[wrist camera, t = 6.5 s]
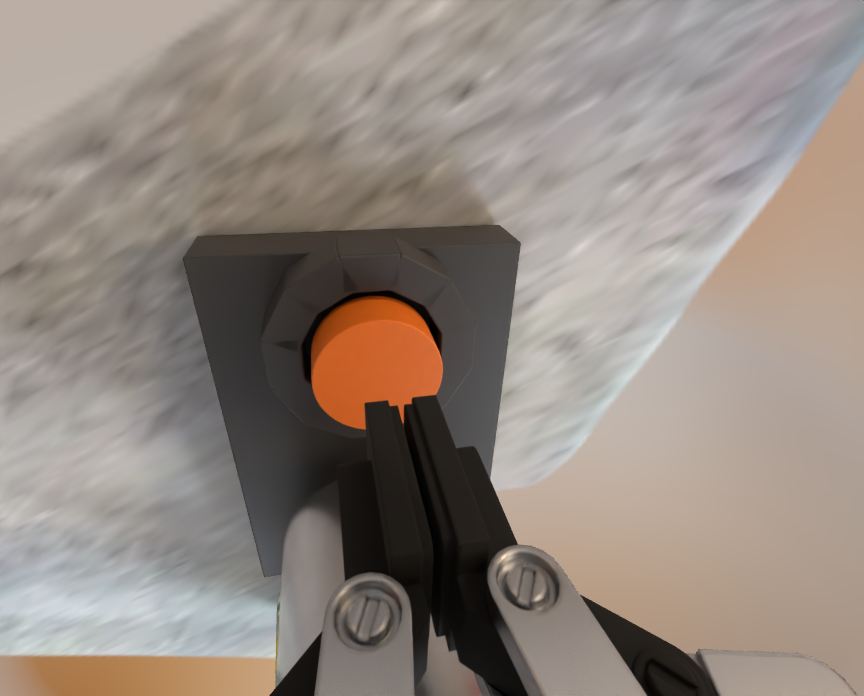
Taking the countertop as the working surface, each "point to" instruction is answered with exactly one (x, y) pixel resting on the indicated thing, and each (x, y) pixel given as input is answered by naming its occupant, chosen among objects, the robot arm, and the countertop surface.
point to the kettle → (316, 582)
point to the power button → (372, 358)
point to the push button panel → (294, 330)
